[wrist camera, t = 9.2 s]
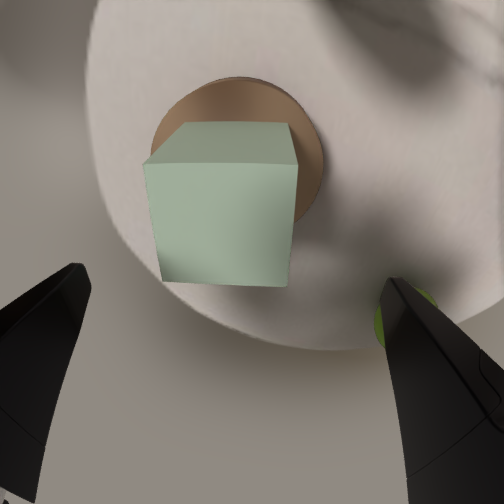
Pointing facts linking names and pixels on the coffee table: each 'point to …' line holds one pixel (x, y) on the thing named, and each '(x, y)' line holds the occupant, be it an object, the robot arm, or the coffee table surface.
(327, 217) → the coffee table surface
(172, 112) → the walnut base
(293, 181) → the sage block
